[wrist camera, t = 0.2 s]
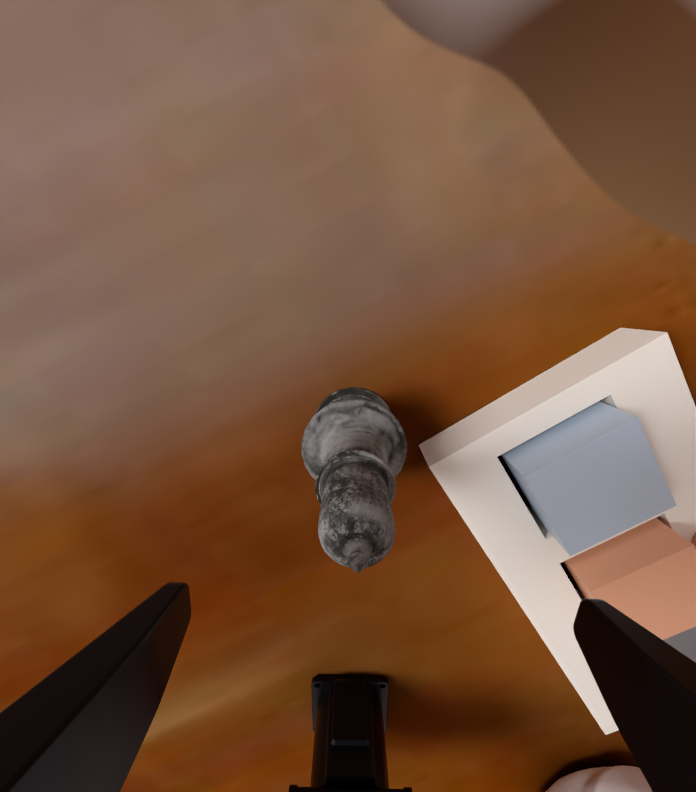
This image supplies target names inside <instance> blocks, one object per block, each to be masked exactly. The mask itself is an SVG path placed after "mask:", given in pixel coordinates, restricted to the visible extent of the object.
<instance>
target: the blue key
mask: <svg viewBox="0 0 696 792" xmlns="http://www.w3.org/2000/svg"><path fill="white" fill-rule="evenodd" d="M502 457H503V459H504V461H505V462H506V464H507V466H508V467H509V469H510V471H511V473H512V474H513V476H514V478H515V479H516V481H517V483H518V485H519V486H520V488H521V490H522V491H523V493H524V495H525V497H526V498H527V500H528V502H529V503H530V505H531V507H532V509H533V510H534V512H535V514H536V515H537V517H538V519H539V521H540V522H541V523H542V524H543V525H544V527H545V528H546V529H547V530H548V531H549V532H550V534H551V535H552V536H553V537H554V538H555V539H556V541H557V542H558V543H559V544H560V545H561V546H562V548H563V549H564V550H565V551H566V552H567V553H568V554H569V556H572V555H574V554H576V553H578V552H580V551H582V550H584V549H587V548H589V547H591V546H593V545H595V544H597V543H599V542H601V541H603V540H605V539H608V538H610V537H612V536H614V535H616V534H618V533H620V532H622V531H624V530H626V529H628V528H631V527H633V526H635V525H637V524H639V523H641V522H643V521H645V520H647V519H649V518H652V517H654V516H656V515H658V514H660V513H662V512H664V511H666V510H668V509H670V508H672V507H675V506H677V505H676V503H675V501H674V498H673V496H672V494H671V492H670V489H669V487H668V485H667V482H666V480H665V478H664V476H663V473H662V471H661V469H660V466H659V464H658V462H657V460H656V457H655V455H654V453H653V451H652V448H651V446H650V444H649V441H648V439H647V437H646V435H645V432H644V430H643V428H642V425H641V423H640V421H639V419H638V417H637V416H635V415H632V414H630V413H627V412H625V411H622V410H620V409H617V408H615V407H612V406H610V405H607V404H605V403H602V402H600V401H598V402H596V403H595V404H593V405H591V406H589V407H587V408H585V409H584V410H582V411H580V412H578V413H576V414H575V415H573V416H571V417H569V418H567V419H565V420H564V421H562V422H560V423H558V424H556V425H555V426H553V427H551V428H549V429H547V430H545V431H544V432H542V433H540V434H538V435H536V436H535V437H533V438H531V439H529V440H527V441H525V442H524V443H522V444H520V445H518V446H516V447H515V448H513V449H511V450H509V451H507V452H505V453H504V454H502Z"/></svg>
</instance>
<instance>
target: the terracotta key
mask: <svg viewBox="0 0 696 792" xmlns="http://www.w3.org/2000/svg"><path fill="white" fill-rule="evenodd" d="M564 563H565V565H566V567H567V569H568V570H569V572H570V574H571V575H572V577H573V579H574V581H575V582H576V584H577V586H578V587H579V589H580V591H581V593H582V594H583V596H584V598H585V599H601V600H604V601H606V602H607V603H609V604H610V605H612V606H613V607H615V608H616V609H618V610H619V611H621V612H622V613H623V614H625V615H626V616H628V617H629V618H631V619H632V620H634V621H635V622H637V623H638V624H640V625H641V626H643V627H644V628H646V629H647V630H649V631H650V632H651V633H653V634H654V635H656V636H657V637H659V638H660V639H662V640H664V639H667V638H669V637H671V636H674V635H676V634H679V633H681V632H683V631H686V630H688V629H691V628H693V627H696V549H695V546H694V545H693V544H692V543H691V542H689V541H688V540H686V539H685V538H684V537H682V536H681V535H679V534H678V533H677V532H675V531H674V530H672V529H671V528H670V527H668V526H667V525H665V524H664V523H662V522H661V521H660V520H658V519H657V518H654V519H652V520H650V521H648V522H646V523H644V524H641V525H639V526H637V527H635V528H633V529H631V530H629V531H627V532H625V533H623V534H620V535H618V536H616V537H614V538H612V539H610V540H608V541H606V542H604V543H602V544H599V545H597V546H595V547H593V548H591V549H589V550H587V551H585V552H583V553H581V554H578V555H576V556H574V557H572V558H570V559H568V560H566V561H564Z"/></svg>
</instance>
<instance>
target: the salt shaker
mask: <svg viewBox="0 0 696 792" xmlns="http://www.w3.org/2000/svg"><path fill="white" fill-rule="evenodd" d="M406 452H407V442H406V436H405V432H404V430H403V428H402V426H401V424H400V422H399V421H398V419H397V418H396V417H395V416H394V415H393V414H392V413H391V411H390V409H389V407H388V405H387V404H386V403H385V401H384V400H383V399H382V398H381V397H380V396H378V395H377V394H375V393H373V392H372V391H369V390H366V389H363V388H352V387H350V388H345V389H340V390H338V391H336V392H334V393H332V394H330V395H329V396H328V397H327V398H325V399H324V400H323V401H322V403H321V404H320V406H319V407H318V409H317V411H316V414H315V415H314V416H313V418H312V419H311V421H310V422H309V424H308V425H307V427H306V429H305V432H304V435H303V439H302V456H303V460H304V464H305V466H306V468H307V470H308V471H309V473H310V474H311V476H312V477H313V478H314V479H315V480H316V483H315V491H316V495H317V498H318V501H319V502H320V504H321V509H320V516H319V523H318V534H319V538H320V542H321V545H322V547H323V549H324V550H325V552H326V553H327V554H328V555H329V556H330V557H331V558H332V559H333V560H334V561H336V562H337V563H339V564H341V565H343V566H346V567H349V568H352V569H353V570H354V571H356V572H357V573H359V572H360V571H362V570H363V569H364V568H366V567H369V566H372V565H374V564H376V563H378V562H379V561H380V560H382V559H383V558H384V557H385V556H386V555H387V554H388V552H389V551H390V550H391V548H392V545H393V543H394V537H395V523H394V518H393V513H392V508H391V503H392V501H393V498H394V496H395V488H396V485H395V479H394V478H395V477H396V476H397V475H398V473H399V472H400V471H401V469H402V466H403V464H404V462H405V459H406Z"/></svg>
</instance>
